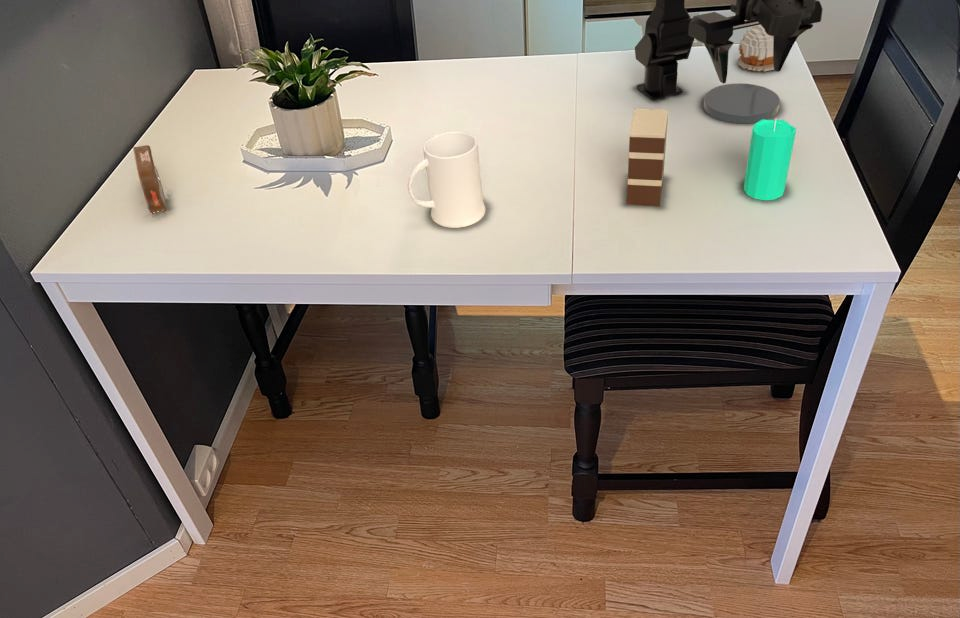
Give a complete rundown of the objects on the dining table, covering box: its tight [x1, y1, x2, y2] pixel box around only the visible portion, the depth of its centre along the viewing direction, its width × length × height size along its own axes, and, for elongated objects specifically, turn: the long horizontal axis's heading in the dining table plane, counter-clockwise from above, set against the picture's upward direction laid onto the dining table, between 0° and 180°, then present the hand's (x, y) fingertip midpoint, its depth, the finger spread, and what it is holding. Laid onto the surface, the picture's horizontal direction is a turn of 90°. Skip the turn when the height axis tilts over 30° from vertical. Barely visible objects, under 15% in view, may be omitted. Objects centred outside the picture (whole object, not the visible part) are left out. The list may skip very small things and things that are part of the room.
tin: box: [132, 144, 168, 215], centre depth 131 cm, size 15×3×8 cm, turn 23°
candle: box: [743, 117, 797, 201], centre depth 117 cm, size 6×6×12 cm
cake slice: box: [626, 108, 669, 207], centre depth 120 cm, size 8×5×12 cm, turn 166°
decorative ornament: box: [737, 25, 775, 72], centre depth 150 cm, size 8×8×15 cm
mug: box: [407, 131, 487, 229], centre depth 119 cm, size 12×8×12 cm
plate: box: [702, 83, 781, 124], centre depth 142 cm, size 13×13×2 cm
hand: (750, 76), depth 120 cm, fingers open, 9 cm apart
